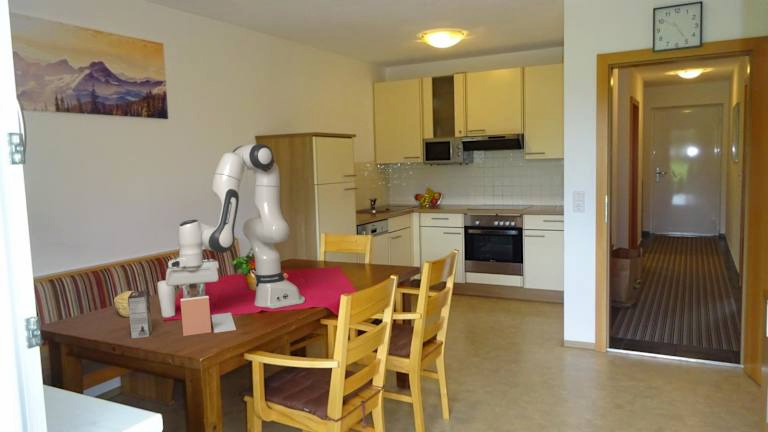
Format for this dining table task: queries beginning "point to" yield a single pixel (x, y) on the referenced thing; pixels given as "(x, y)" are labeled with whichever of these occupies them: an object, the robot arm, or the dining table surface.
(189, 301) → the tile
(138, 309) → the coffee box
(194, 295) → the stick
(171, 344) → the dining table surface
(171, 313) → the drinking glass
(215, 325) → the mat
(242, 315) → the dining table surface
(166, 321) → the dining table surface
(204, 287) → the supplement box
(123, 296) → the sculpture
